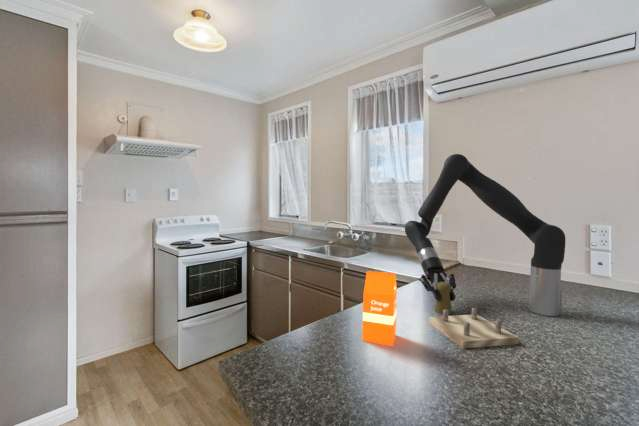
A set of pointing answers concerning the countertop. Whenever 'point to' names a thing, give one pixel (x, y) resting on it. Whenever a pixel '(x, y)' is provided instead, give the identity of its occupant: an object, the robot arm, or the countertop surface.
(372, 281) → the orange juice
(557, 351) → the countertop surface
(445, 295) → the cork
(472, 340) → the peg board
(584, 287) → the countertop surface
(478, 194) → the robot arm
